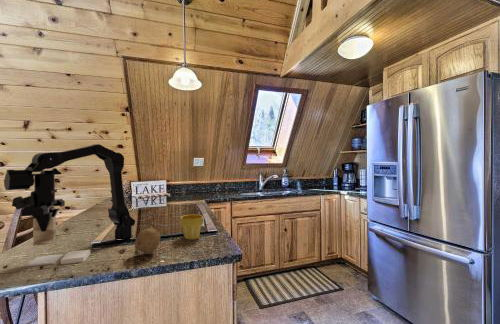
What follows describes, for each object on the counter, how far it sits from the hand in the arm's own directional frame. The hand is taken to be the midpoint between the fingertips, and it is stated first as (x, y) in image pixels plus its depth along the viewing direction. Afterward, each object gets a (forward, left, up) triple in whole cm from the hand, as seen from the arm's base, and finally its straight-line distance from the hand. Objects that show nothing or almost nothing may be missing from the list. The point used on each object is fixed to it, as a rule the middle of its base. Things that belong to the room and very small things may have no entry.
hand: (45, 230), depth 91 cm
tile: (-10, -3, -11) cm, 15 cm away
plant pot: (-53, -11, -11) cm, 55 cm away
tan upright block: (0, 0, -4) cm, 4 cm away
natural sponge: (-35, +5, -11) cm, 37 cm away
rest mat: (0, 0, -11) cm, 11 cm away
